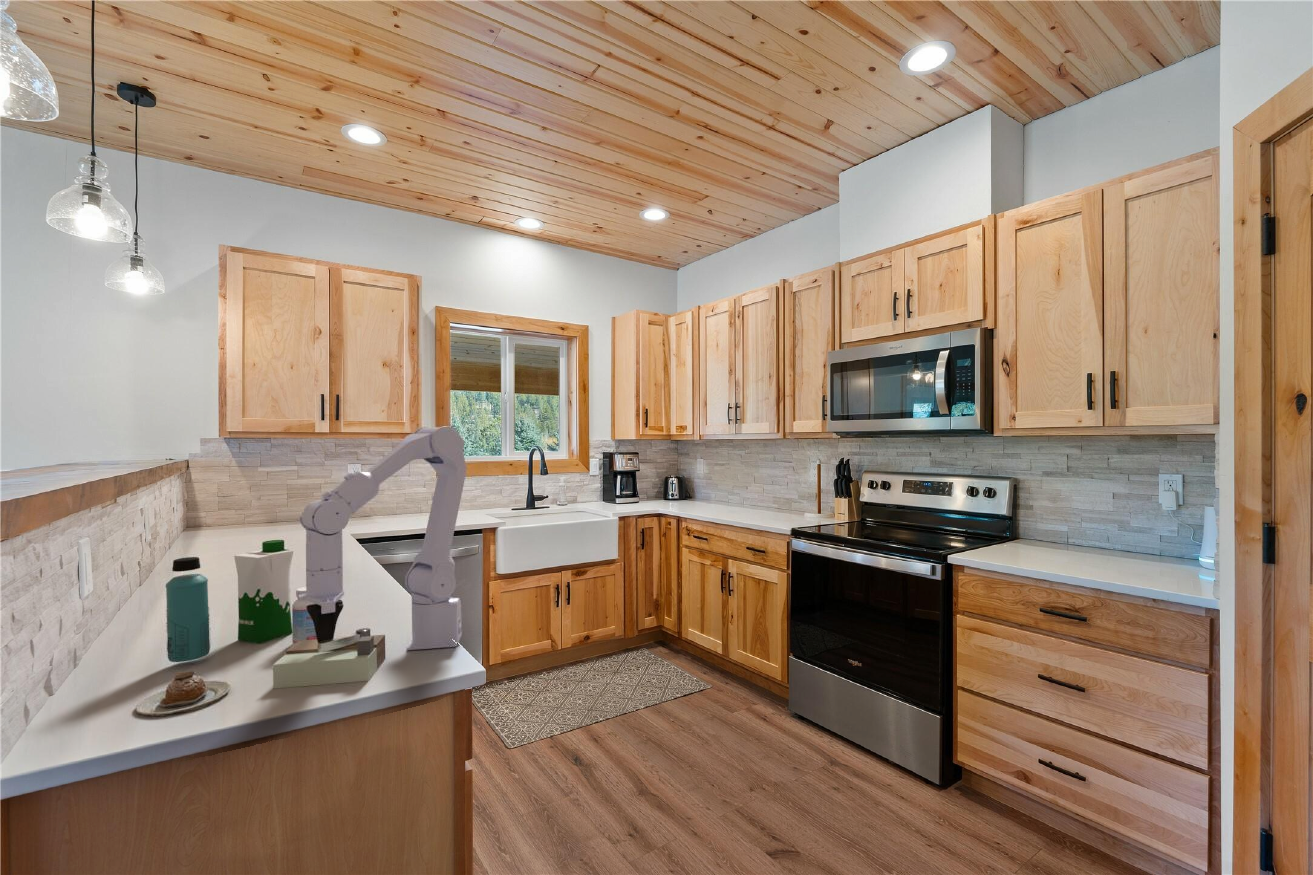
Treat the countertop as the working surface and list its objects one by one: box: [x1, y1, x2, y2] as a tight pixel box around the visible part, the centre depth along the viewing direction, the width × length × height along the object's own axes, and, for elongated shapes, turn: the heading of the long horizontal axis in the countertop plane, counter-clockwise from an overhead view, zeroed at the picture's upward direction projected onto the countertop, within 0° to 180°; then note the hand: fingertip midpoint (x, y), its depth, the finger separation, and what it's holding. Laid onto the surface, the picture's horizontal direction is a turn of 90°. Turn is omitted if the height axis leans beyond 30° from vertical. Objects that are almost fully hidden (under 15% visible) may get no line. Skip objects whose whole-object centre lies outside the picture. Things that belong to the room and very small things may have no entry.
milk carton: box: [233, 539, 294, 645], centre depth 127 cm, size 9×9×20 cm
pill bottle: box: [291, 586, 317, 646], centre depth 123 cm, size 6×6×11 cm
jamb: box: [285, 634, 386, 670], centre depth 109 cm, size 15×6×4 cm, turn 100°
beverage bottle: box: [165, 556, 212, 663], centre depth 112 cm, size 6×7×20 cm
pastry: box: [135, 670, 231, 717], centre depth 96 cm, size 12×12×5 cm
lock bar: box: [317, 627, 371, 652], centre depth 107 cm, size 9×2×2 cm, turn 139°
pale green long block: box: [272, 635, 378, 689], centre depth 104 cm, size 15×5×6 cm, turn 100°
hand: (325, 644), depth 106 cm, fingers closed, pressing on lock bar
